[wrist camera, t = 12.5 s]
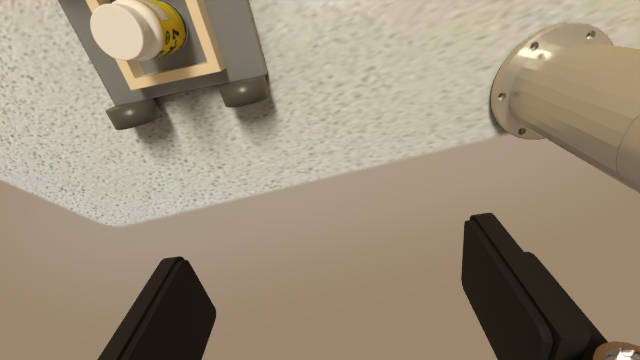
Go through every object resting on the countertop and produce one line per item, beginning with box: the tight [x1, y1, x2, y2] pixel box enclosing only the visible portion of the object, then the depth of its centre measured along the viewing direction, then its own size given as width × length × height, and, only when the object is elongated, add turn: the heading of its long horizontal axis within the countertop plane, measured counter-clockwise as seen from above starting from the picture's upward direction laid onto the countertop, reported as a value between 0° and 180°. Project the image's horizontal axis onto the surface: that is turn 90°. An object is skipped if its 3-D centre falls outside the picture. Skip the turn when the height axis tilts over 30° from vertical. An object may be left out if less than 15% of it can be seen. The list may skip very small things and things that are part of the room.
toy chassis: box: [58, 0, 270, 130], centre depth 30 cm, size 18×17×5 cm
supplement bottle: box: [90, 0, 188, 61], centre depth 27 cm, size 5×5×8 cm
